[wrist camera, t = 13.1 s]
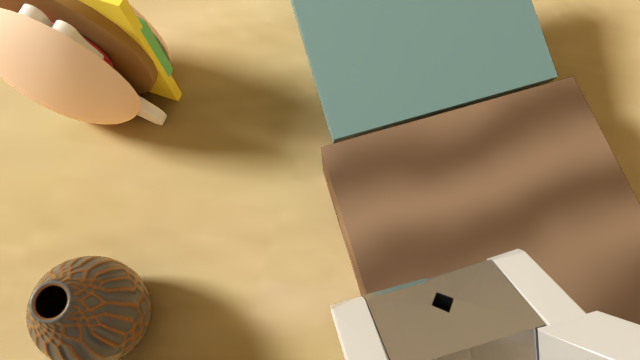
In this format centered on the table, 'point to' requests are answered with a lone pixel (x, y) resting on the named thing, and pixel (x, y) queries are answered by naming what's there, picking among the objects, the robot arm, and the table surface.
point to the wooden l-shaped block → (492, 197)
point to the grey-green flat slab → (417, 57)
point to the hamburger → (85, 58)
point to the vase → (88, 310)
